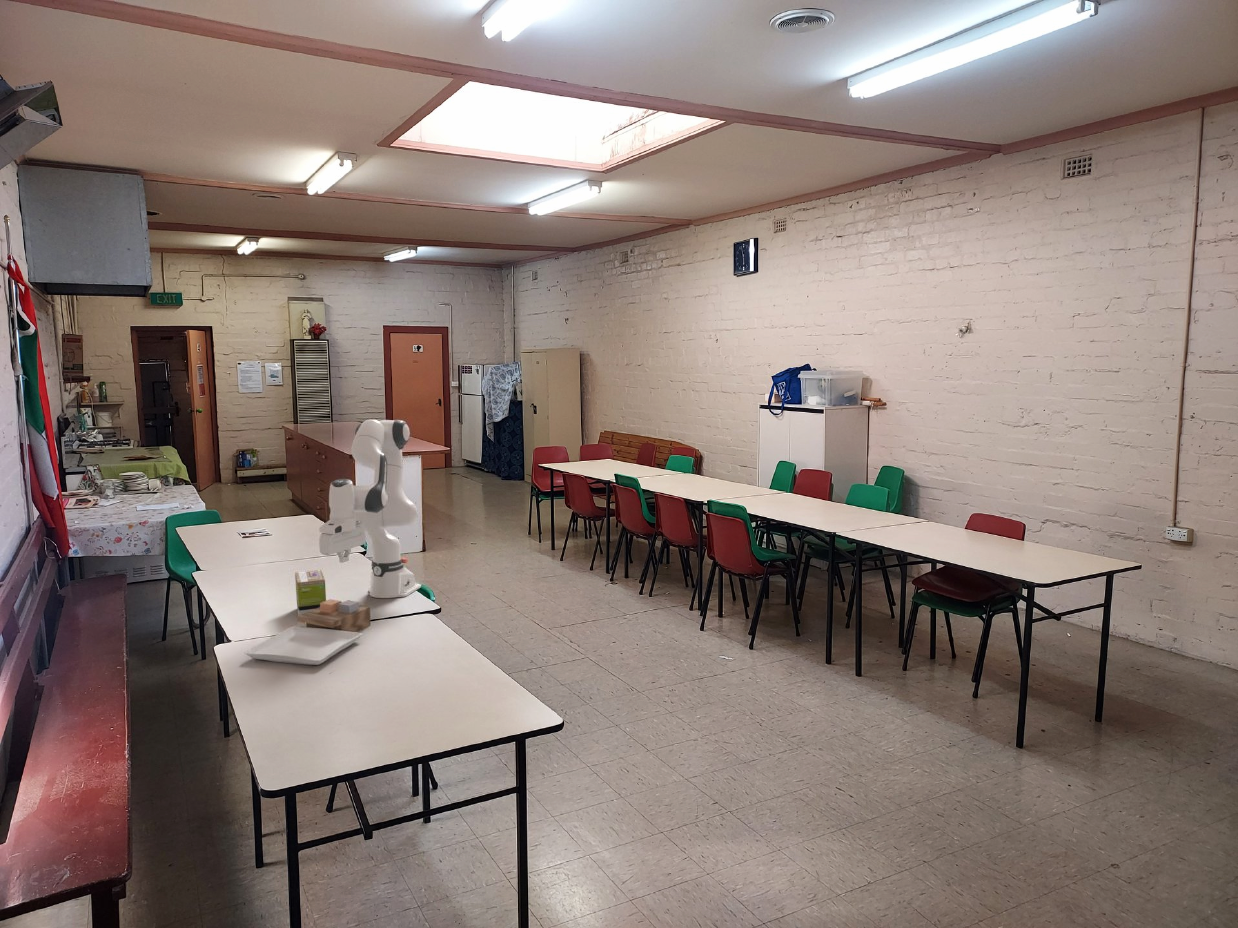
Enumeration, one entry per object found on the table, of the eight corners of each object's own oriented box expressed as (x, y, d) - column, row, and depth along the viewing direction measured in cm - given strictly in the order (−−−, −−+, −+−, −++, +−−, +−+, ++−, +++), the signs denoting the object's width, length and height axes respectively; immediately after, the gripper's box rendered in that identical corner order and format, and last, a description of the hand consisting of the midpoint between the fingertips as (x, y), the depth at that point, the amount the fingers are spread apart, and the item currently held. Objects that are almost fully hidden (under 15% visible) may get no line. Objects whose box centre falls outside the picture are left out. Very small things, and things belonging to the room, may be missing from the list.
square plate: (320, 671, 256) (320, 659, 255) (243, 663, 261) (242, 651, 260) (364, 641, 282) (363, 630, 281) (293, 635, 287) (292, 624, 287)
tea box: (296, 608, 316) (294, 571, 314) (323, 605, 320) (322, 568, 318) (298, 620, 302) (297, 581, 300) (327, 616, 306) (325, 578, 304)
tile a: (330, 607, 295) (330, 599, 295) (341, 609, 293) (340, 600, 293) (320, 611, 291) (320, 602, 290) (331, 612, 289) (330, 604, 288)
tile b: (348, 608, 295) (348, 600, 294) (359, 609, 293) (359, 601, 292) (338, 611, 290) (338, 603, 290) (349, 613, 288) (349, 605, 288)
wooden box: (336, 619, 304) (335, 600, 303) (370, 625, 297) (370, 606, 296) (297, 634, 286) (297, 615, 285) (333, 641, 280) (332, 622, 279)
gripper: (355, 518, 306) (357, 554, 307) (315, 528, 287) (317, 567, 289) (369, 519, 303) (370, 556, 305) (329, 530, 285) (330, 569, 286)
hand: (344, 561), depth 297 cm, fingers closed
